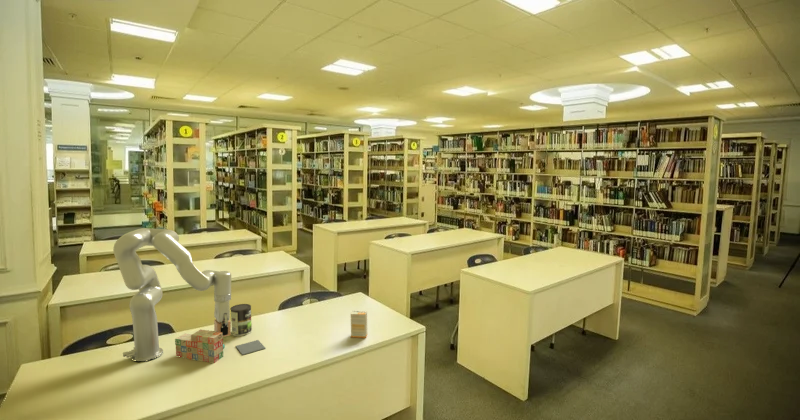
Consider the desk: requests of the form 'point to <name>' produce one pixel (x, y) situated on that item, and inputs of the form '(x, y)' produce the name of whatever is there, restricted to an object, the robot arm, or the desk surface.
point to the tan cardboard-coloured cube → (218, 327)
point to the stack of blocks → (200, 346)
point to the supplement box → (359, 324)
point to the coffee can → (241, 319)
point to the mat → (250, 347)
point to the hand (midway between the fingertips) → (222, 332)
